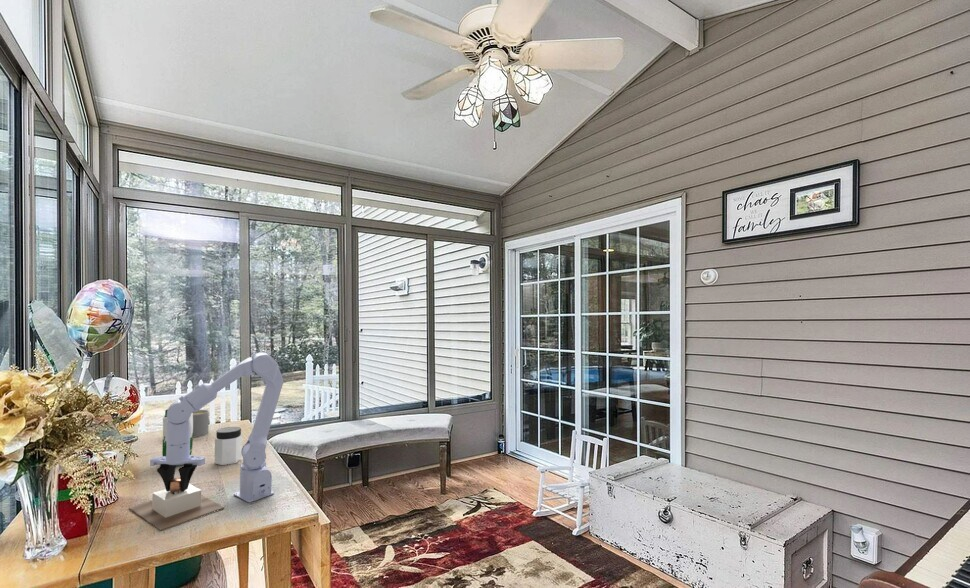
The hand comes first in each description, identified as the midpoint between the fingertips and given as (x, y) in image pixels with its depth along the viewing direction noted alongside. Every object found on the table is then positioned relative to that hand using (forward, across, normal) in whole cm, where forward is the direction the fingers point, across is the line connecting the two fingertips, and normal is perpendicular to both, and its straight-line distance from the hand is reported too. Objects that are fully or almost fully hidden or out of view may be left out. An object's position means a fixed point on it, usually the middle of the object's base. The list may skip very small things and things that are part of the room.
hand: (177, 489), depth 130 cm
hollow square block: (+5, 0, 0) cm, 5 cm away
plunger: (+4, 0, 0) cm, 4 cm away
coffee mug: (+6, +41, -73) cm, 84 cm away
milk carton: (+6, +24, -37) cm, 44 cm away
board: (+5, 0, 0) cm, 5 cm away
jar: (+6, +6, -39) cm, 40 cm away
